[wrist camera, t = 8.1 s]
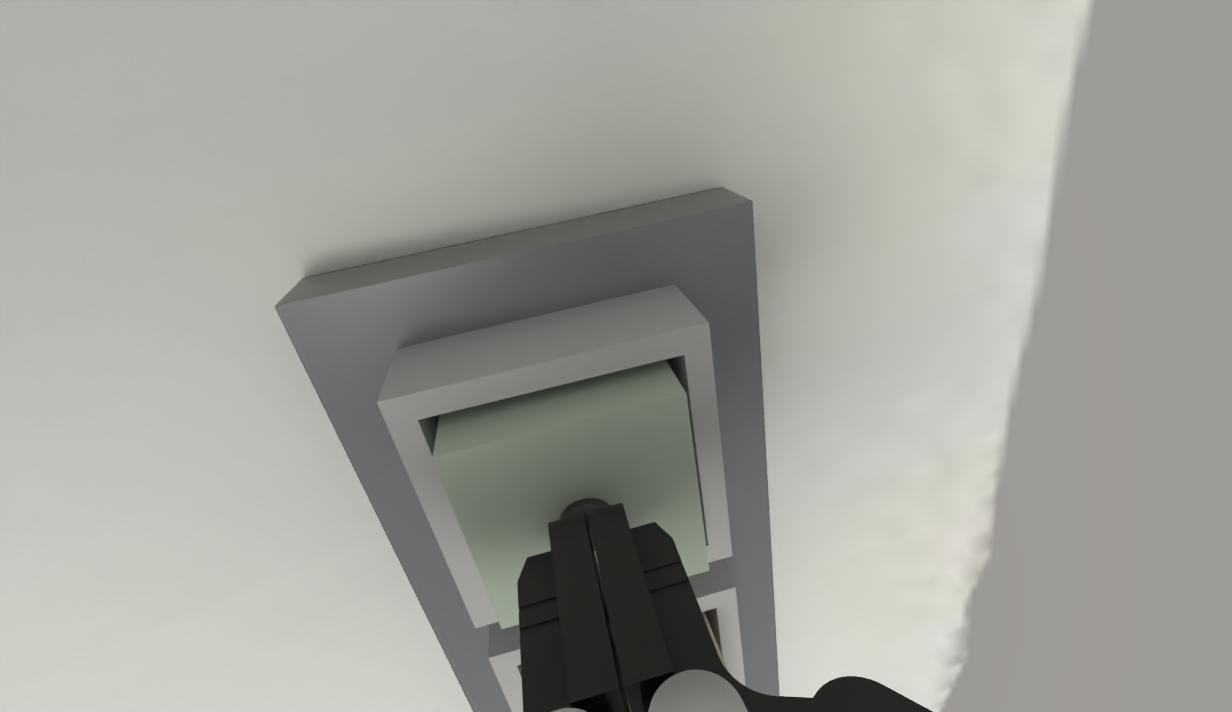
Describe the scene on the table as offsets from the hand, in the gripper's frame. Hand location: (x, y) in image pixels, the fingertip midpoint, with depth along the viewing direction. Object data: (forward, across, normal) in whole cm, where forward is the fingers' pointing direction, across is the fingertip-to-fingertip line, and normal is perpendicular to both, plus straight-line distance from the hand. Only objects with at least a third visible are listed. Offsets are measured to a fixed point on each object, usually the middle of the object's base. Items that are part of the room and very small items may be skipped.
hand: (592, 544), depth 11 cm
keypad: (+6, 0, +8) cm, 10 cm away
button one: (+4, 0, 0) cm, 4 cm away
